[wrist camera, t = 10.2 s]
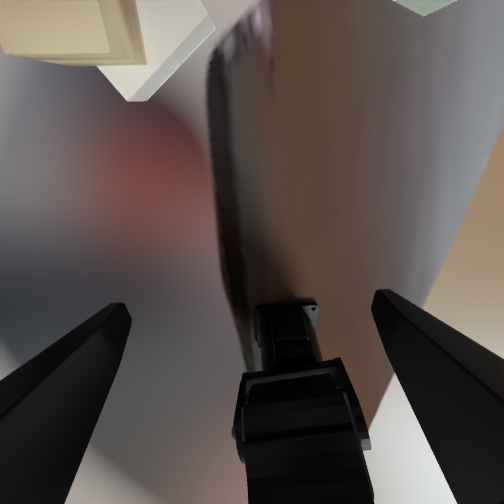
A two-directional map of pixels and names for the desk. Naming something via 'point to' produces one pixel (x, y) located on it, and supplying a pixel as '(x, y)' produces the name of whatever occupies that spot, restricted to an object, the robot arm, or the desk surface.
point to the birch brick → (73, 31)
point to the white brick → (161, 45)
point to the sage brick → (424, 5)
